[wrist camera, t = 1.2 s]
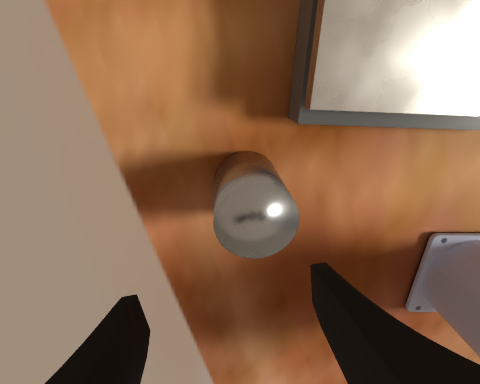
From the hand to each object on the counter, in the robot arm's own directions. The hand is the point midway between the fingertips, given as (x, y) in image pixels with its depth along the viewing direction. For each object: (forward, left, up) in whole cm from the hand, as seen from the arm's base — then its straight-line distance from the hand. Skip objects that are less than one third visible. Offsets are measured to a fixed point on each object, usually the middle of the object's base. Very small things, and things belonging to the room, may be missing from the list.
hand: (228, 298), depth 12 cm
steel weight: (-2, -2, -10) cm, 10 cm away
